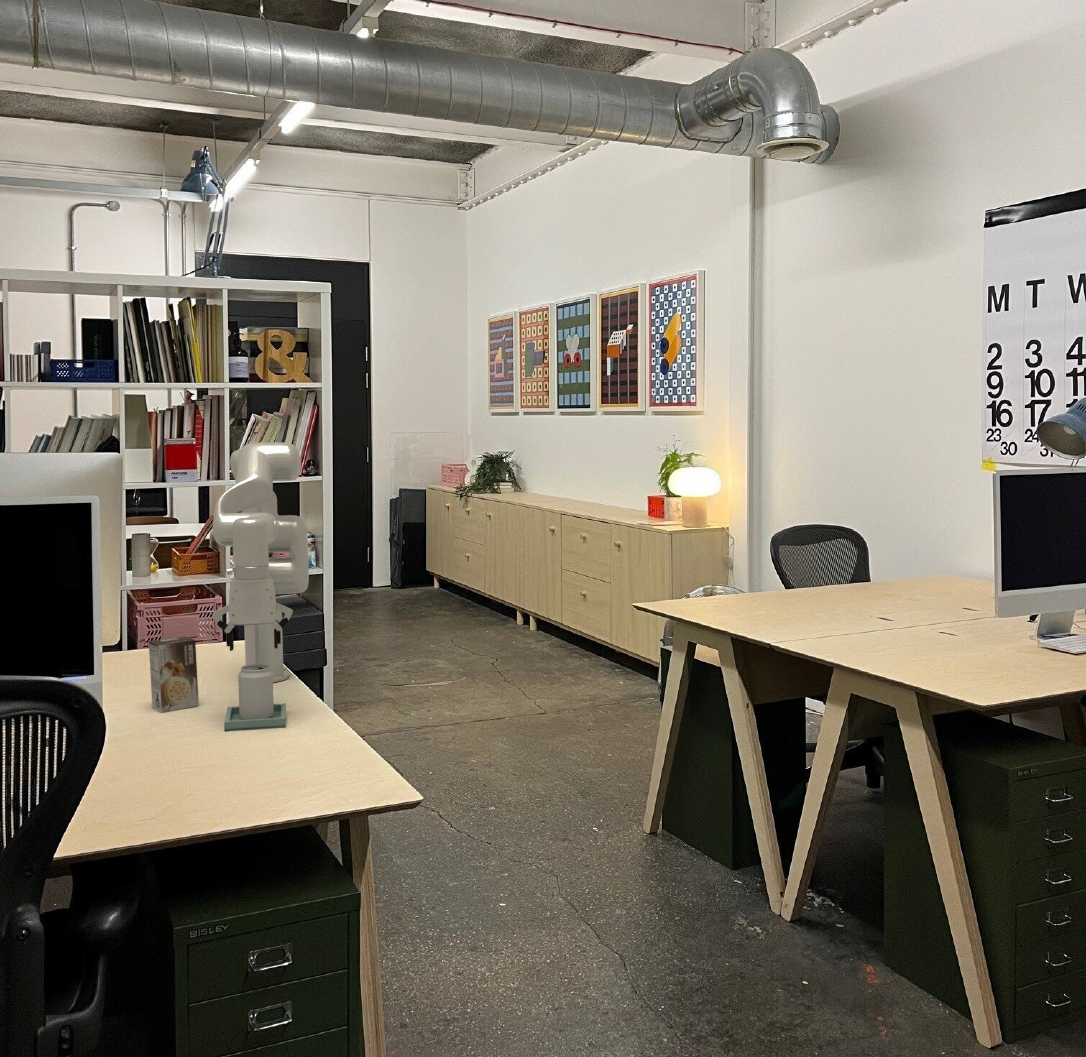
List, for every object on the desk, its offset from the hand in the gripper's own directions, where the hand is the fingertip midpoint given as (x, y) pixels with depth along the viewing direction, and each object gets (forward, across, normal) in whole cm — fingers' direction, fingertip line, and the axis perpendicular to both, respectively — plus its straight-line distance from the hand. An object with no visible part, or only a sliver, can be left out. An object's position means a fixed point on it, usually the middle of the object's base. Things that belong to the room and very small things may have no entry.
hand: (254, 648), depth 246 cm
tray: (+17, 0, -1) cm, 17 cm away
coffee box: (+17, -19, +16) cm, 30 cm away
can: (+16, 0, -1) cm, 16 cm away
